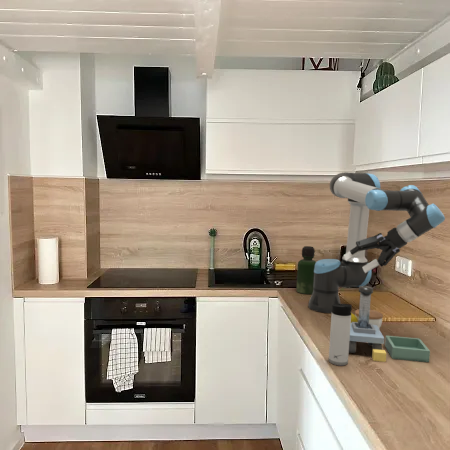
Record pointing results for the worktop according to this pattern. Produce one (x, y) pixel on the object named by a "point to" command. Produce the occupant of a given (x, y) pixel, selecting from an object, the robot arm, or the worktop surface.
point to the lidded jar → (372, 317)
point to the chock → (379, 355)
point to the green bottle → (306, 271)
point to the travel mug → (340, 334)
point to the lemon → (353, 318)
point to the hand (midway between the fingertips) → (354, 264)
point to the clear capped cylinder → (364, 306)
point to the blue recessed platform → (365, 336)
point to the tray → (407, 348)
